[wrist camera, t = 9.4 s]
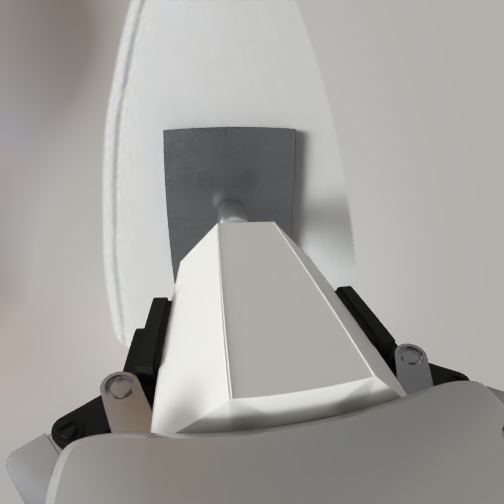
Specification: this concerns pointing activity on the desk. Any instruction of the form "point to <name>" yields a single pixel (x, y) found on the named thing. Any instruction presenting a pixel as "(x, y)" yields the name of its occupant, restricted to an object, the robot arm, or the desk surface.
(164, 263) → the desk surface
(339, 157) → the desk surface
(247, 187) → the roll holder
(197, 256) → the white hollow octagonal tube
